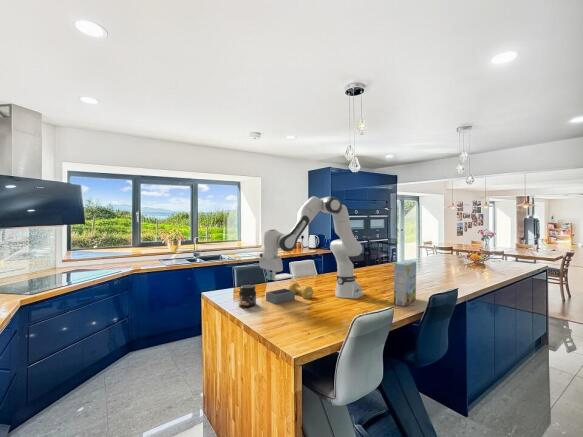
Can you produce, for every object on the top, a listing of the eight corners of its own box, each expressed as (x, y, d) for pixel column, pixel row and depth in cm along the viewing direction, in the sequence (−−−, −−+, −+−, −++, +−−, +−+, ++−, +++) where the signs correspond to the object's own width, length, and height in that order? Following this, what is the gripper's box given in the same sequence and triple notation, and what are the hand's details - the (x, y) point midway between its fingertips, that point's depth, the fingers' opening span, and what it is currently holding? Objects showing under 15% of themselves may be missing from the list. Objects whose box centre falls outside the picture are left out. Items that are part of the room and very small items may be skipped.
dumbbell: (287, 294, 204) (287, 283, 205) (297, 292, 210) (297, 281, 210) (304, 300, 189) (304, 288, 189) (314, 298, 195) (314, 286, 195)
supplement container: (235, 306, 175) (235, 287, 175) (245, 302, 184) (245, 283, 184) (249, 309, 170) (249, 289, 170) (259, 304, 179) (259, 285, 179)
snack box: (407, 307, 174) (407, 264, 174) (393, 304, 179) (393, 263, 179) (417, 299, 191) (416, 260, 191) (403, 297, 197) (403, 259, 197)
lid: (285, 274, 197) (285, 268, 197) (295, 276, 189) (295, 270, 189) (263, 278, 185) (263, 272, 185) (273, 280, 177) (273, 274, 177)
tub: (285, 297, 197) (285, 288, 197) (294, 300, 189) (294, 291, 189) (266, 301, 186) (266, 292, 186) (275, 305, 179) (275, 295, 179)
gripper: (285, 256, 177) (285, 278, 177) (265, 253, 192) (265, 274, 192) (277, 257, 173) (277, 280, 173) (257, 254, 188) (257, 275, 188)
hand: (271, 276), depth 183 cm, fingers closed on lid, 3 cm apart
